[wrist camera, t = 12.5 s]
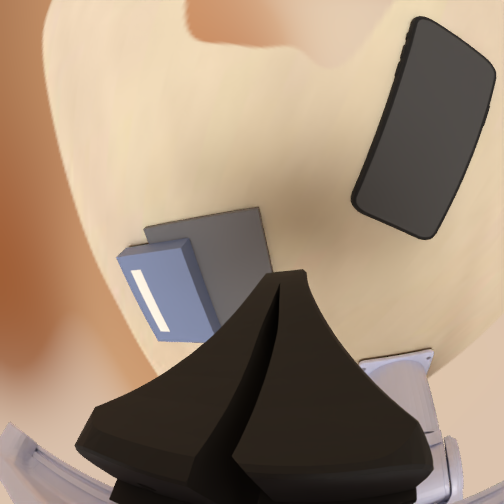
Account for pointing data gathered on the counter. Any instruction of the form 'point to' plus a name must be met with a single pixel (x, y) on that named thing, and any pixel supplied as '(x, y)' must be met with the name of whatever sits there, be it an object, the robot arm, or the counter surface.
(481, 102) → the smartphone
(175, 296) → the block
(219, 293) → the mat
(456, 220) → the counter surface
